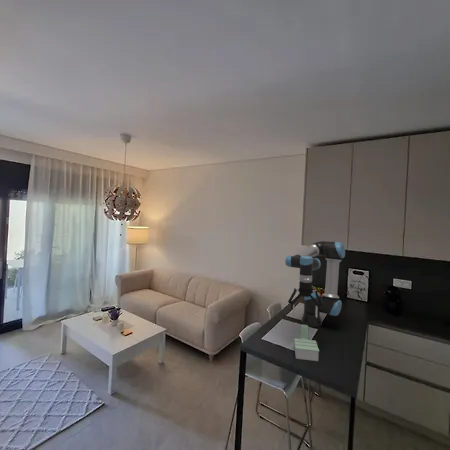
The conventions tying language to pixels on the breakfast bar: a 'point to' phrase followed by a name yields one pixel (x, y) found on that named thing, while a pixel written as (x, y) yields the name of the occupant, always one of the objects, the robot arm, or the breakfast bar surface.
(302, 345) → the green stepped block
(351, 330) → the breakfast bar surface
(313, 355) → the tub
